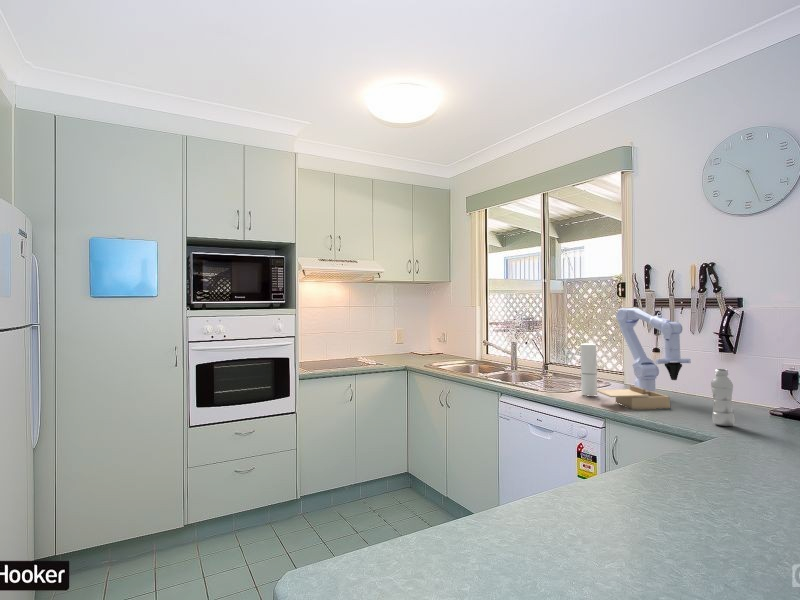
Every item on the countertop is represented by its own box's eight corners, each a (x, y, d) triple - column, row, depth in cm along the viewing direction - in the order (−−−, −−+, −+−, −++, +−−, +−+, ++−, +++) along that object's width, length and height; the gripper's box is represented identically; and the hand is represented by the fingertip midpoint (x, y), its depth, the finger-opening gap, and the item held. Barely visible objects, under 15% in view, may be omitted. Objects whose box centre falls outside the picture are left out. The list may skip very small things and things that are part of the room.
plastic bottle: (738, 428, 159) (736, 371, 160) (717, 427, 161) (715, 370, 161) (729, 423, 166) (727, 368, 166) (708, 423, 167) (707, 368, 167)
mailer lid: (595, 391, 205) (595, 385, 205) (631, 390, 205) (630, 384, 205) (611, 397, 191) (610, 391, 191) (648, 396, 191) (648, 390, 191)
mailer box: (615, 402, 205) (615, 391, 205) (650, 401, 205) (650, 390, 205) (632, 409, 191) (631, 397, 191) (669, 408, 191) (669, 396, 191)
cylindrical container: (594, 394, 226) (593, 343, 226) (599, 396, 219) (598, 344, 219) (579, 394, 226) (578, 343, 227) (584, 396, 219) (582, 344, 220)
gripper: (661, 350, 197) (663, 381, 197) (694, 349, 198) (696, 380, 197) (652, 349, 204) (653, 379, 204) (684, 348, 205) (685, 378, 204)
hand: (673, 379), depth 201 cm, fingers closed
